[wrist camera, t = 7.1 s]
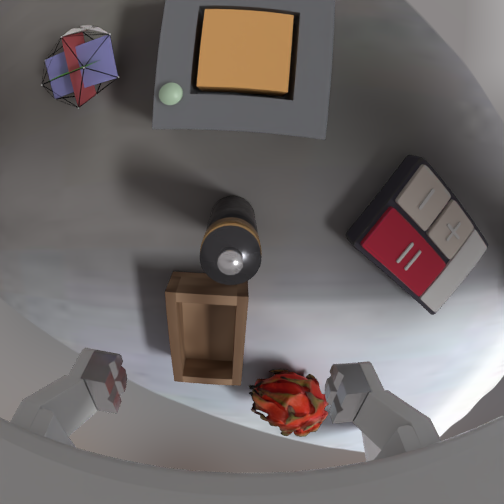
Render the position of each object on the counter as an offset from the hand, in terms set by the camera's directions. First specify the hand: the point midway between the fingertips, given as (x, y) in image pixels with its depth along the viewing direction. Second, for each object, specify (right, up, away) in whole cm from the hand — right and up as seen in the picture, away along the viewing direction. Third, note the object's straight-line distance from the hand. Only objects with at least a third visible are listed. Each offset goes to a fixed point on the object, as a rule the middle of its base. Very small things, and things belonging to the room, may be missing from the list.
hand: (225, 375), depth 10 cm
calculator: (+19, +7, +20) cm, 28 cm away
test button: (0, +19, +9) cm, 21 cm away
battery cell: (-1, +8, +17) cm, 19 cm away
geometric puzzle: (-14, +21, +11) cm, 28 cm away
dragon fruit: (+5, -13, +27) cm, 30 cm away
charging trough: (-4, -3, +22) cm, 23 cm away
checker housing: (0, +20, +12) cm, 24 cm away
